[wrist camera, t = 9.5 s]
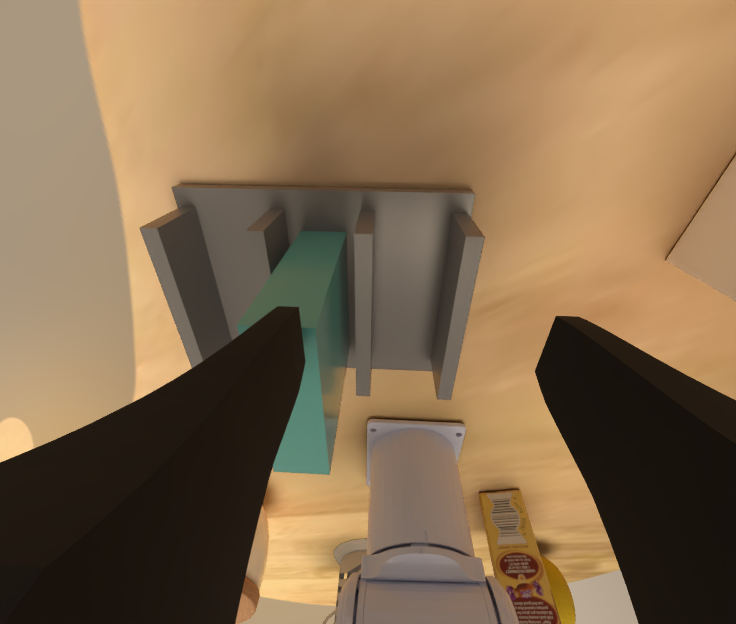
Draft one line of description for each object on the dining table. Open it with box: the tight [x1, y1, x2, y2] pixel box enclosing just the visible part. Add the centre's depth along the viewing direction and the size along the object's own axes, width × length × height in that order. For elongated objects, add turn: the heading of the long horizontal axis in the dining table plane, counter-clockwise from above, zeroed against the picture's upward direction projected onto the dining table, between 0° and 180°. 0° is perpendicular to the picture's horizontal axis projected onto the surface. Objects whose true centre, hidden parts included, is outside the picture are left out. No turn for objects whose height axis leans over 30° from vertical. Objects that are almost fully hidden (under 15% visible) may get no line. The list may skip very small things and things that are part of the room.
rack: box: [140, 184, 485, 400], centre depth 19 cm, size 12×16×4 cm
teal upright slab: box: [237, 231, 350, 475], centre depth 16 cm, size 8×2×9 cm, turn 0°
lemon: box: [541, 556, 576, 624], centre depth 35 cm, size 6×6×8 cm
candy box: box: [479, 490, 561, 624], centre depth 28 cm, size 9×4×15 cm, turn 18°
